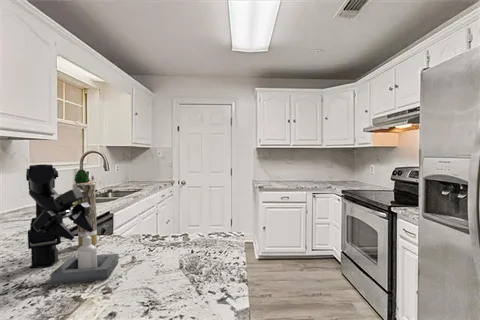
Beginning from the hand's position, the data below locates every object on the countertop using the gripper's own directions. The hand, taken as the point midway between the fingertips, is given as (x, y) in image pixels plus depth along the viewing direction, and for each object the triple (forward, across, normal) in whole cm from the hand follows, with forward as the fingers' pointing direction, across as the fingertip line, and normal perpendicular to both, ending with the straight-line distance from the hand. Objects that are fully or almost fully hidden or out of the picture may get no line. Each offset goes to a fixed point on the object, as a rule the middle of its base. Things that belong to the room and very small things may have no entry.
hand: (83, 234), depth 91 cm
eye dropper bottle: (+9, 0, +7) cm, 12 cm away
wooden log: (-5, +30, +21) cm, 37 cm away
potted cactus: (-48, +116, +64) cm, 141 cm away
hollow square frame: (+9, 0, +7) cm, 11 cm away
